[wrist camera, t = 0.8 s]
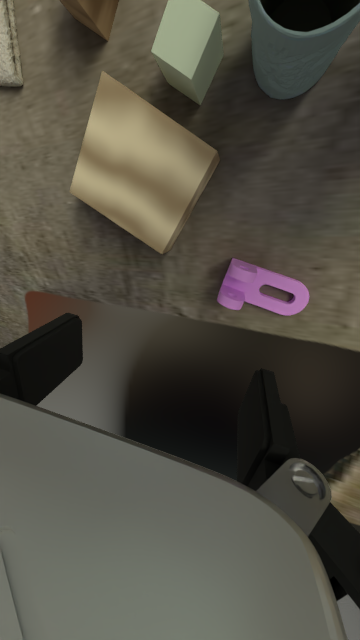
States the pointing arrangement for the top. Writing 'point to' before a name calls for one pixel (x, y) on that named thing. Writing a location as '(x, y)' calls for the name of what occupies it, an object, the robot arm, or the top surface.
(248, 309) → the top surface
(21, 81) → the washcloth
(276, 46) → the teal cylinder
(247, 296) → the bracket
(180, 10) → the sage cube
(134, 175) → the birch block
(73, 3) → the walnut cube
